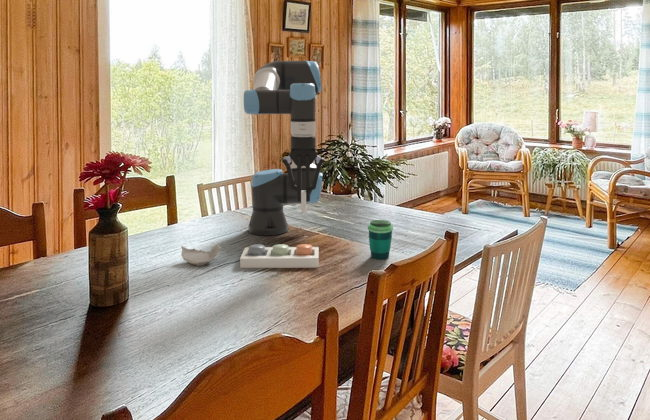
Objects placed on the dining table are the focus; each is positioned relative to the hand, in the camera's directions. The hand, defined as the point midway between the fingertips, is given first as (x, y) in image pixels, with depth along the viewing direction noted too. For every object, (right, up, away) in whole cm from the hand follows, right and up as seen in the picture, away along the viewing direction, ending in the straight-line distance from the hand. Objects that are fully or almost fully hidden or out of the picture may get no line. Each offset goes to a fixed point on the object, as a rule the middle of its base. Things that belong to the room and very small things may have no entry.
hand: (303, 211), depth 172 cm
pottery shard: (-33, -17, +2) cm, 37 cm away
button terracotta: (0, -13, +3) cm, 13 cm away
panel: (-8, -16, +4) cm, 18 cm away
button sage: (-8, -13, +3) cm, 15 cm away
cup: (+24, -15, +7) cm, 30 cm away
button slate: (-15, -13, +3) cm, 20 cm away
